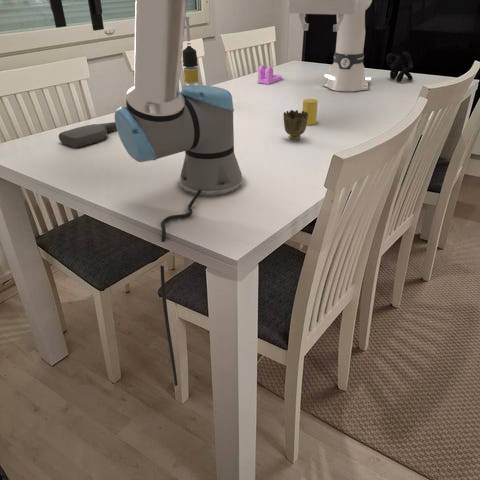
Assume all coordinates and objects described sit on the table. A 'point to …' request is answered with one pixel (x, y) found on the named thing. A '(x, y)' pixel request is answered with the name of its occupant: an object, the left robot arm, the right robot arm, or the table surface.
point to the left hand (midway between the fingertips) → (79, 28)
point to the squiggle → (399, 66)
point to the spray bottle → (86, 134)
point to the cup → (295, 123)
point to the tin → (310, 110)
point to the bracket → (267, 75)
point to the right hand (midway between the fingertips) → (320, 30)
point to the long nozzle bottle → (190, 60)
